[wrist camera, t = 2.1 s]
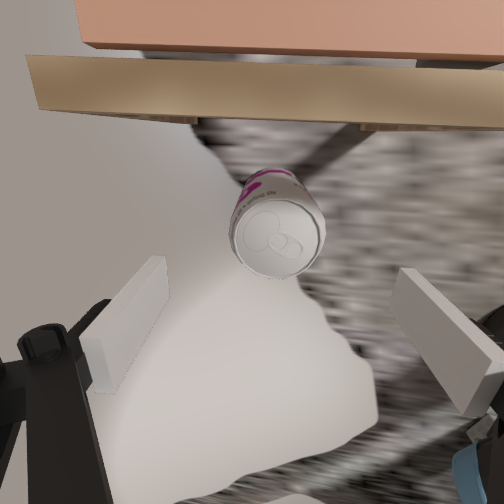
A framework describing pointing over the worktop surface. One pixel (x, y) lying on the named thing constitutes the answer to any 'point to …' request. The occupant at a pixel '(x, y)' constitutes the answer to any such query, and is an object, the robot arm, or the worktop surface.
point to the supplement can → (276, 225)
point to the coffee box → (481, 428)
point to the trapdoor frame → (271, 92)
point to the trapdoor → (304, 28)
